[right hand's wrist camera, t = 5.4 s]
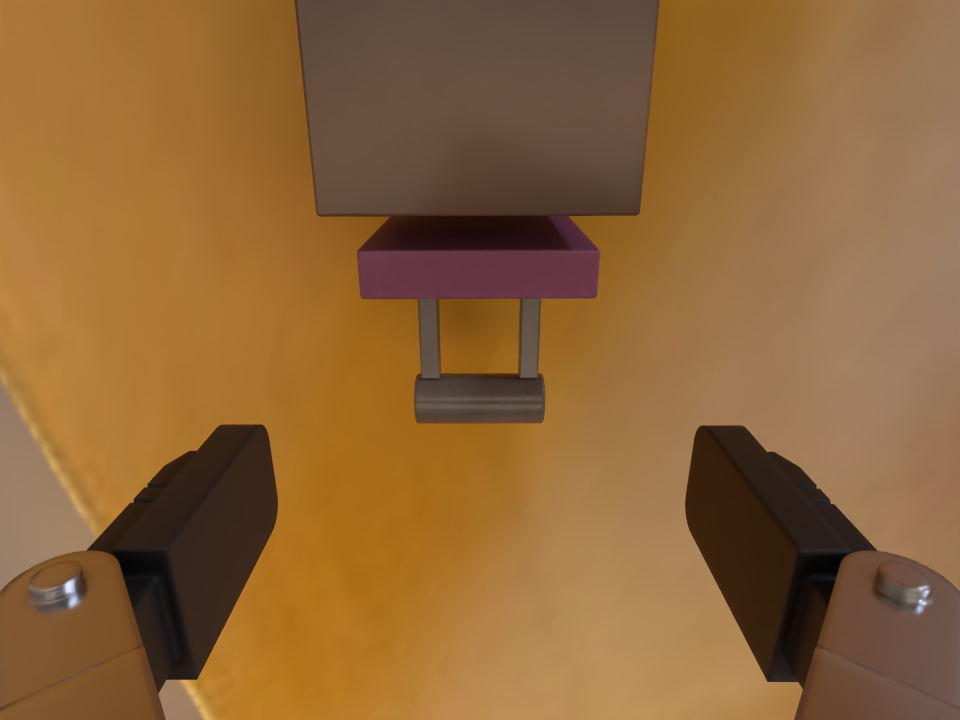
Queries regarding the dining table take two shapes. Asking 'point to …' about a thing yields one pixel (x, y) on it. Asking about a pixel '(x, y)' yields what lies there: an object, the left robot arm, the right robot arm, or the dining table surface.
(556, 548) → the dining table surface
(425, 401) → the drawer
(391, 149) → the cabinet
